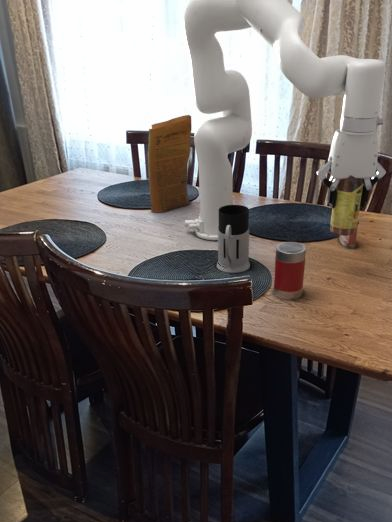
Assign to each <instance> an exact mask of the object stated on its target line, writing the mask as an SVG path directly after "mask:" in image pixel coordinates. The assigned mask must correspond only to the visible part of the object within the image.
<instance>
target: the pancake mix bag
mask: <svg viewBox="0 0 392 522" xmlns="http://www.w3.org/2000/svg"><path fill="white" fill-rule="evenodd" d="M192 129H193V128H192V115H190V114H186V115H185V114H184V115H182V116H177V117H174V118H171V119H168V120H165V121H161V122H157V123H153V124H151V128H149V129H148V137H147V140H148V143H147V173H148V184H149V195H150V202H151V204H150V205H151V207H150V208H151V209H150V212H151V213H165V212H168V211H171V210H174V209H177V208H180V207H184V206H187V205H189V203H190V197H189V194H188V180H189V159H190V153H191V137H192V136H191V135H192Z"/></svg>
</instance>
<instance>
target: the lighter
mask: <svg viewBox="0 0 392 522" xmlns="http://www.w3.org/2000/svg"><path fill="white" fill-rule="evenodd" d="M359 225H360V218H358V222H357V227H356V230H355V233H354V234H352V235H348V236H343V235H339V242H340V243H341V244H342V246H343V247H345V248H346V249H351V250H352V249H355V248H357V235H358V228H359Z"/></svg>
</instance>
